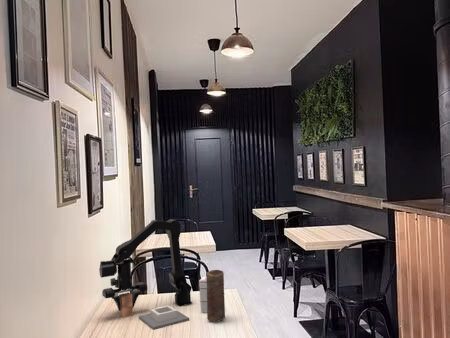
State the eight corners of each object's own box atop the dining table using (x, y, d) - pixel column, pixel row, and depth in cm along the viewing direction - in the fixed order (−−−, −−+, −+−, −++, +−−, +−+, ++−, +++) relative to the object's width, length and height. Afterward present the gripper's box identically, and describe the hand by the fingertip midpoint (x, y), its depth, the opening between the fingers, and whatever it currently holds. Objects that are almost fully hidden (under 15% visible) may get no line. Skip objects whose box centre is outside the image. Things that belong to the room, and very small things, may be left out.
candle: (228, 317, 172) (225, 269, 172) (222, 324, 165) (219, 274, 165) (211, 316, 175) (208, 269, 175) (204, 322, 168) (202, 273, 168)
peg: (129, 312, 184) (128, 292, 185) (132, 315, 181) (131, 294, 181) (119, 314, 182) (118, 294, 182) (122, 317, 178) (121, 296, 178)
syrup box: (213, 313, 178) (212, 279, 178) (200, 313, 179) (198, 279, 180) (216, 308, 184) (215, 276, 184) (203, 308, 185) (202, 276, 185)
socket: (173, 310, 185) (172, 301, 185) (189, 320, 171) (188, 310, 171) (139, 318, 176) (138, 309, 176) (153, 329, 163) (152, 319, 163)
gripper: (138, 267, 193) (139, 300, 193) (98, 274, 183) (99, 309, 183) (147, 271, 184) (148, 306, 184) (105, 279, 174) (106, 316, 174)
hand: (126, 309), depth 181 cm, fingers open, 6 cm apart
